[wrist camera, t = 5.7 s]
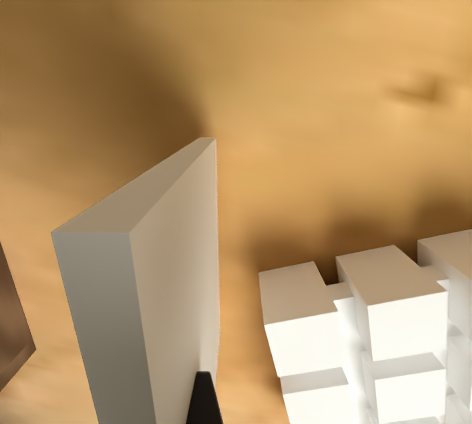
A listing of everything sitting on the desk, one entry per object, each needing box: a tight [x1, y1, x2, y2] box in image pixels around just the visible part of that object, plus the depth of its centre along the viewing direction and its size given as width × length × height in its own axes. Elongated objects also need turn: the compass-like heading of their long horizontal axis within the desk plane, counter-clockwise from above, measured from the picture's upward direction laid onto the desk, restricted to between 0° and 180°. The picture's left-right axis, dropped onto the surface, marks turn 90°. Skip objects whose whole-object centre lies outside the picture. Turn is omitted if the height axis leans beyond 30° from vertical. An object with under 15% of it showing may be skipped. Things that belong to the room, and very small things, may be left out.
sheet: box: [51, 137, 220, 424], centre depth 10 cm, size 12×1×11 cm, turn 0°
